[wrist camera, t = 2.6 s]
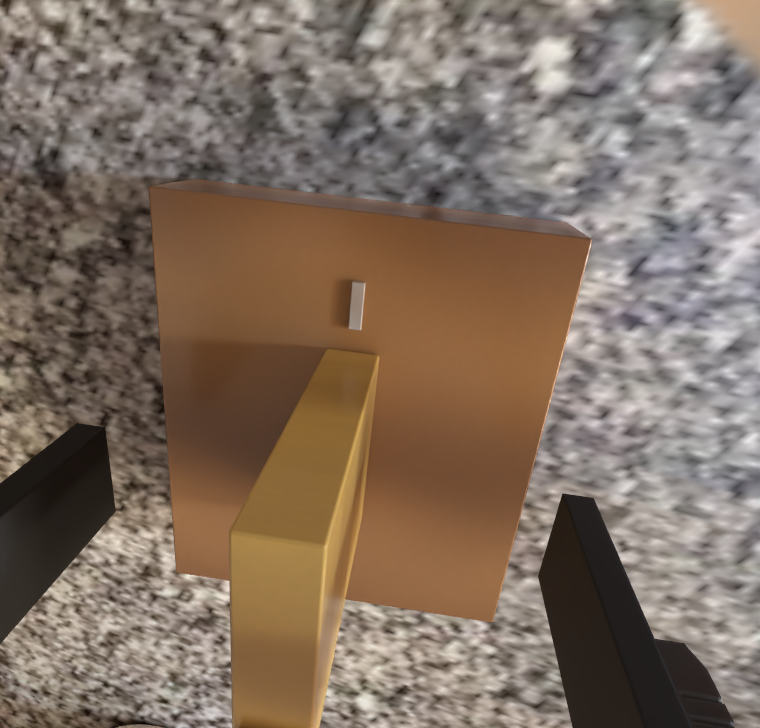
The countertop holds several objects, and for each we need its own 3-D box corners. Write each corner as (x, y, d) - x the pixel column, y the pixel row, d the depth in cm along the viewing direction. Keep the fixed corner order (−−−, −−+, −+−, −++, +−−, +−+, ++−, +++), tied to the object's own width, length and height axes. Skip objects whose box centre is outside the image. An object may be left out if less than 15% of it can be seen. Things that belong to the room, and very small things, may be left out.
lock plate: (194, 178, 17) (144, 186, 14) (567, 222, 16) (595, 240, 14) (207, 520, 23) (173, 576, 20) (486, 562, 22) (493, 627, 19)
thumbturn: (326, 347, 16) (220, 542, 8) (380, 354, 15) (324, 558, 8) (315, 509, 18) (227, 776, 10) (362, 516, 18) (306, 791, 10)
